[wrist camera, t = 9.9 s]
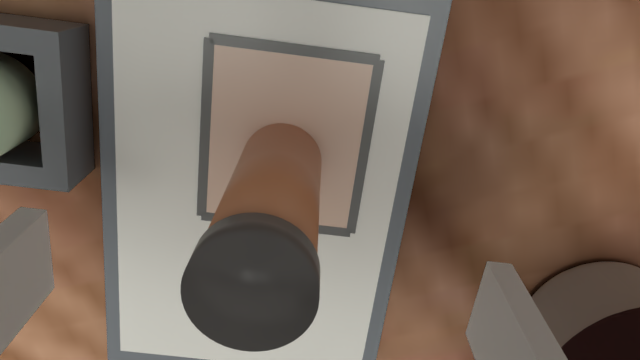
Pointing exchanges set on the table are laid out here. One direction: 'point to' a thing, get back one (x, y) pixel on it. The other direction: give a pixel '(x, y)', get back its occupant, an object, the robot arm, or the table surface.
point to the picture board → (229, 142)
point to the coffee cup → (594, 311)
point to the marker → (261, 247)
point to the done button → (16, 104)
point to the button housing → (52, 103)
